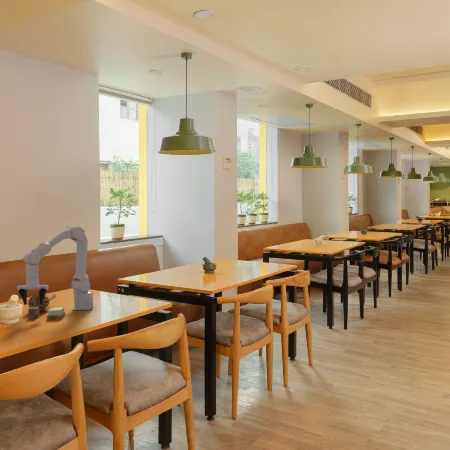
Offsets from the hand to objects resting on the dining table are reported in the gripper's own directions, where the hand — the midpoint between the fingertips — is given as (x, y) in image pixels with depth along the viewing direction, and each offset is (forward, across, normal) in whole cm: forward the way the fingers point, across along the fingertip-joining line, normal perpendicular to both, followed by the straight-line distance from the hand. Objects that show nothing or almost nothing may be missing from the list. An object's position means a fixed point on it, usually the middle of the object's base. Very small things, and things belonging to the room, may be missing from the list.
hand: (33, 304), depth 238 cm
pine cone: (+7, -1, +17) cm, 18 cm away
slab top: (+5, +11, -1) cm, 12 cm away
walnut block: (+7, 0, 0) cm, 7 cm away
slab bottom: (+7, +11, -1) cm, 13 cm away
